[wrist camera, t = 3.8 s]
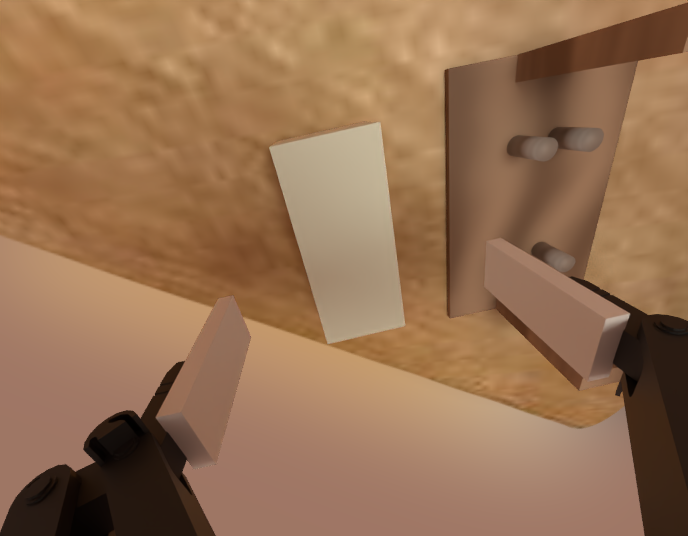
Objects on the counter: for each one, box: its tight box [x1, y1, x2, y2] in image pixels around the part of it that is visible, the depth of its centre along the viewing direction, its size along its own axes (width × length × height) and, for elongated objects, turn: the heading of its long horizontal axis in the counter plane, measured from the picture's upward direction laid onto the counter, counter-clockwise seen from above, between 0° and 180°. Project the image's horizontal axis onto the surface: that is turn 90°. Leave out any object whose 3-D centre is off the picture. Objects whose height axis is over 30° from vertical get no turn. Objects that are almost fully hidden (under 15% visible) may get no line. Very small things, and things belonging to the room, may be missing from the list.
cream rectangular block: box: [269, 122, 405, 344], centre depth 21 cm, size 6×14×5 cm, turn 11°
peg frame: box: [445, 3, 688, 391], centre depth 19 cm, size 13×20×10 cm, turn 10°
